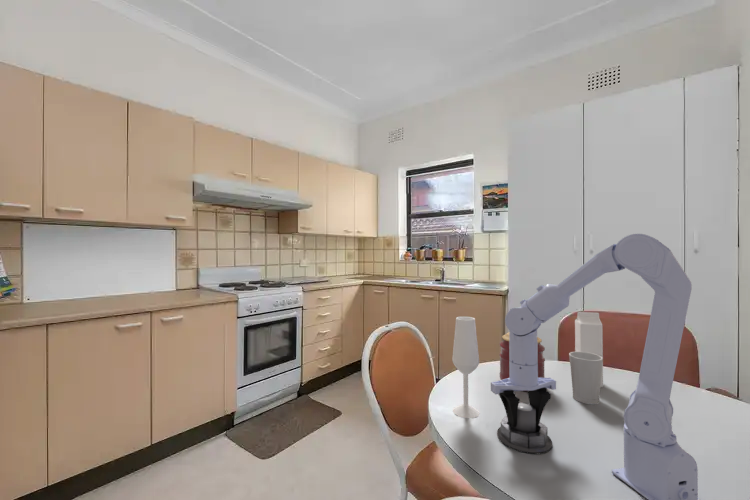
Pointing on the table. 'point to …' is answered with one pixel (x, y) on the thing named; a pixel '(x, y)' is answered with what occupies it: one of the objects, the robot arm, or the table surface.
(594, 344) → the milk
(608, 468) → the table surface
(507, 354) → the canister
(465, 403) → the champagne flute
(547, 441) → the socket
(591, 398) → the cup
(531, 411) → the cap
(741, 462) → the table surface
